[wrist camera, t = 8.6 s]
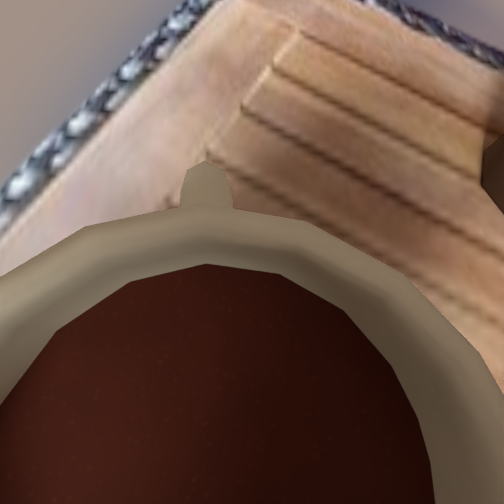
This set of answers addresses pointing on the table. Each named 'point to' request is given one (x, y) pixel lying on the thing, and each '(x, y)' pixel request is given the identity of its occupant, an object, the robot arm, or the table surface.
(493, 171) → the beer bottle
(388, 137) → the table surface
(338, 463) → the character mug
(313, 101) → the table surface
